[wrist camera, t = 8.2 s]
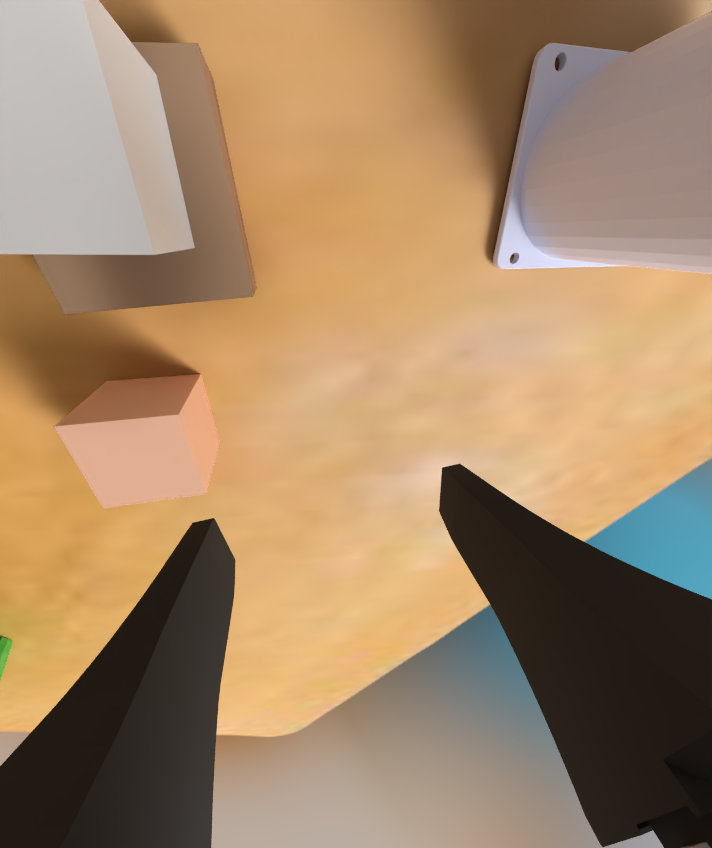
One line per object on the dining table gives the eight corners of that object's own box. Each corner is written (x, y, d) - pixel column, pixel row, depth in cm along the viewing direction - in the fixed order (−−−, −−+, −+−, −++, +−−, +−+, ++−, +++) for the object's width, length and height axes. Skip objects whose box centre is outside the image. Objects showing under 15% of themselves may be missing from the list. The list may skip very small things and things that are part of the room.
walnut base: (214, 83, 12) (197, 43, 9) (257, 286, 15) (252, 296, 13) (0, 82, 11) (-85, 37, 8) (101, 300, 14) (64, 314, 12)
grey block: (156, 75, 9) (72, -34, 6) (194, 247, 12) (154, 254, 8) (-26, 56, 8) (-268, -85, 5) (55, 247, 11) (-65, 253, 7)
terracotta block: (201, 373, 17) (178, 414, 13) (220, 442, 19) (206, 493, 15) (107, 380, 16) (53, 426, 12) (139, 451, 18) (103, 508, 14)
